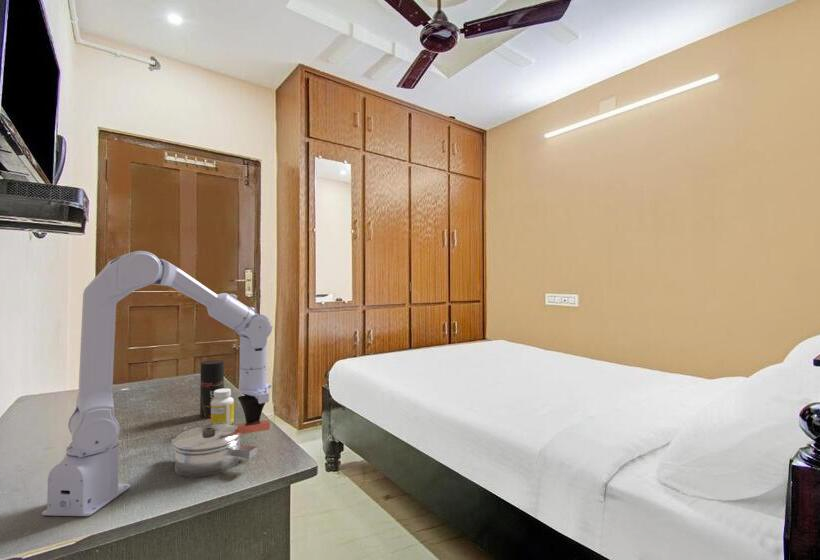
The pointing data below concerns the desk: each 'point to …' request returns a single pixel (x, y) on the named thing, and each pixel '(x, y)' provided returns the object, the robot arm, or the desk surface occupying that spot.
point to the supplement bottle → (222, 407)
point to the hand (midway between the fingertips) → (252, 427)
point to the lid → (216, 435)
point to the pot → (210, 459)
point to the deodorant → (210, 384)
